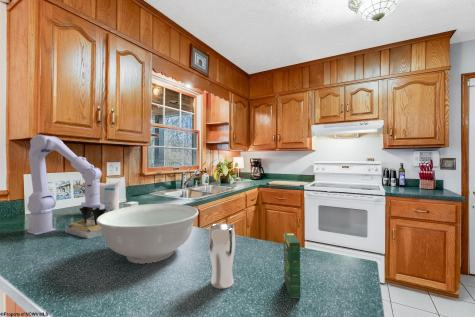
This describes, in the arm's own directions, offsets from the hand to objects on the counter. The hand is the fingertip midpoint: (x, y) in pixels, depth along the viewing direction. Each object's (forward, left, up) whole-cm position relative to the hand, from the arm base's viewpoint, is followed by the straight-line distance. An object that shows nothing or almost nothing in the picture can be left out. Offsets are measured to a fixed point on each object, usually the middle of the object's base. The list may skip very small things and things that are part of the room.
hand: (92, 223), depth 111 cm
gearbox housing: (0, 0, -3) cm, 3 cm away
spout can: (0, 0, -3) cm, 3 cm away
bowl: (+46, -6, -4) cm, 47 cm away
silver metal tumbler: (+78, -10, -3) cm, 79 cm away
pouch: (-25, +22, -4) cm, 33 cm away
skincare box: (+11, +12, -3) cm, 17 cm away
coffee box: (+95, -4, -4) cm, 95 cm away
